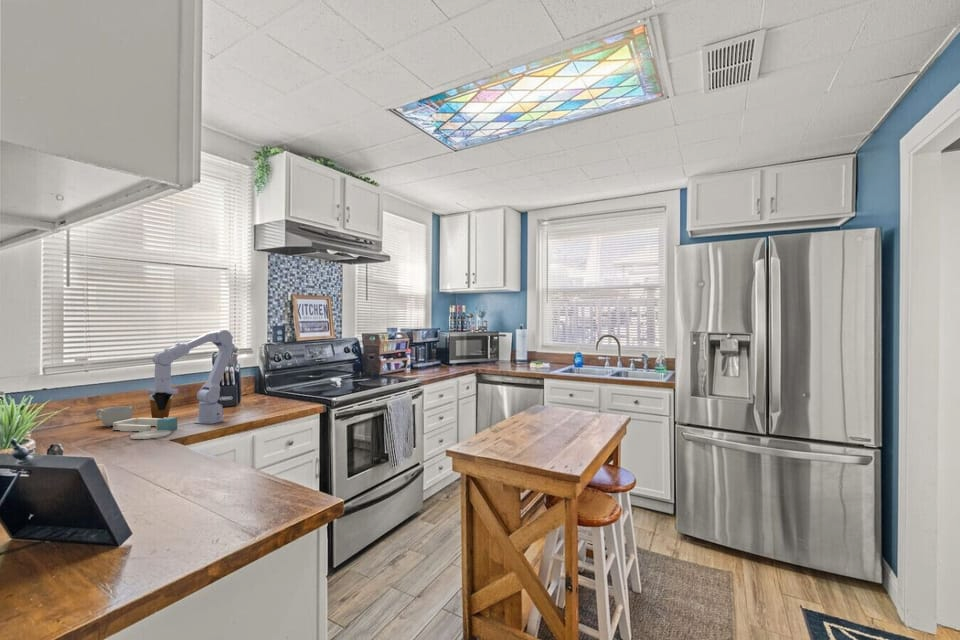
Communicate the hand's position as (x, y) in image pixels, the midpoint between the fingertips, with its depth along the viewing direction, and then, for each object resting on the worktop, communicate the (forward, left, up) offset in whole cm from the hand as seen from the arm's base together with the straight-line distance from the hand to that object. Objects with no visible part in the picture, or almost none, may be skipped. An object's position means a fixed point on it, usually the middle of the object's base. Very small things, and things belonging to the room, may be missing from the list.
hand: (161, 410), depth 185 cm
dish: (-7, +11, -8) cm, 15 cm away
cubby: (+10, 0, -8) cm, 13 cm away
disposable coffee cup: (+20, -19, -9) cm, 29 cm away
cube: (-3, 0, -8) cm, 9 cm away
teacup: (+28, -3, -9) cm, 30 cm away
